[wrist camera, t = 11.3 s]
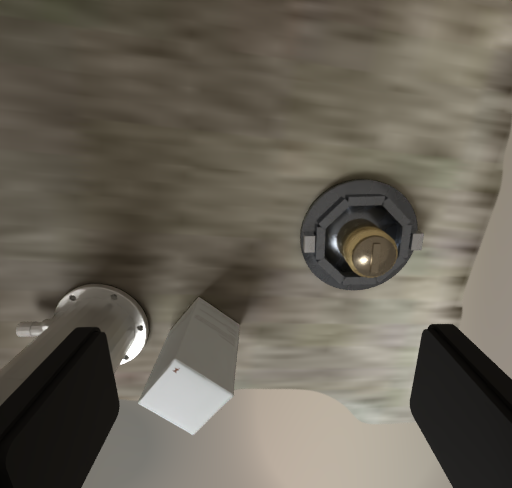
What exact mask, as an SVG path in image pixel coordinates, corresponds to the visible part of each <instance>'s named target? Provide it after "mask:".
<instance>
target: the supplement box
mask: <svg viewBox="0 0 512 488" xmlns="http://www.w3.org/2000/svg"><path fill="white" fill-rule="evenodd" d="M239 327H240V325H239V324H238V323H237V322H235V321H234V320H232V319H231V318H229V317H228V316H226V315H225V314H223V313H222V312H220V311H219V310H218V309H216V308H215V307H213V306H212V305H210V304H209V303H207V302H206V301H204V300H203V299H201V298H200V297H198V298H197V299H196V300H195V302H194V303H193V304H192V305H191V306H190V308H189V309H188V310H187V311H186V312H185V313H184V315H183V316H182V317H181V318H180V319H179V321H178V322H177V323H176V324H175V325H174V326H173V328H172V329H171V330H170V332H169V334H168V336H167V338H166V341H165V343H164V345H163V347H162V350H161V352H160V354H159V356H158V359H157V361H156V363H155V365H154V367H153V370H152V372H151V374H150V376H149V379H148V381H147V383H146V385H145V388H144V390H143V392H142V395H141V397H140V399H139V401H138V404H140V405H141V406H143V407H145V408H147V409H149V410H150V411H152V412H154V413H156V414H157V415H159V416H161V417H163V418H164V419H166V420H168V421H170V422H171V423H173V424H175V425H176V426H178V427H180V428H182V429H183V430H185V431H187V432H189V433H190V434H192V435H194V434H195V433H196V432H197V431H198V430H199V429H200V428H201V427H202V426H203V425H204V424H205V423H206V422H207V421H208V420H209V419H210V418H211V417H212V416H213V415H214V414H215V413H216V412H217V411H218V410H219V409H220V408H221V407H222V406H223V405H225V404H226V403H227V402H228V401H229V400H230V399H231V398H232V397H233V395H234V381H235V370H236V360H237V350H238V340H239Z"/></svg>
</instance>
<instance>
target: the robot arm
mask: <svg viewBox="0 0 512 488" xmlns="http://www.w3.org/2000/svg"><path fill="white" fill-rule="evenodd" d="M16 333H17V335H18V336H19V337H35V336H38V337H37V338H35V339H34V340H33V341H32V342H31V343H30V344H29V345H28V346H27V347H25V348H24V349H23V350H22V351H21V352H20V353H19V354H18V355H16V356H15V357H14V358H13V359H12V360H11V361H10V362H9V363H8V364H6V365H5V366H4V367H3V368H2V369H1V370H0V488H81V487H82V485H83V483H84V481H85V479H86V477H87V475H88V473H89V471H90V469H91V467H92V465H93V463H94V461H95V459H96V457H97V455H98V453H99V452H100V450H101V447H102V446H103V444H104V442H105V440H106V437H107V436H108V433H109V432H110V430H111V428H112V426H113V424H114V422H115V420H116V418H117V415H118V412H119V398H118V393H117V388H116V383H115V378H114V373H115V371H116V370H117V368H118V366H119V365H121V364H124V363H127V362H129V361H131V360H132V359H134V358H135V357H136V356H137V355H138V354H139V353H140V352H141V351H142V349H143V347H144V346H145V344H146V341H147V338H148V333H149V326H148V321H147V317H146V315H145V313H144V311H143V309H142V308H141V306H140V305H139V304H138V303H137V301H136V300H134V299H133V298H132V297H131V296H130V295H128V294H127V293H125V292H123V291H122V290H120V289H117V288H115V287H112V286H108V285H104V284H88V285H83V286H80V287H77V288H75V289H74V290H72V291H70V292H69V293H68V294H67V295H65V296H64V297H63V298H62V299H61V300H60V302H59V303H58V305H57V307H56V309H55V313H54V317H53V318H52V319H46V320H44V321H43V322H21V323H19V324H18V326H17V329H16ZM410 409H411V412H412V415H413V417H414V419H415V420H416V422H417V424H418V426H419V428H420V429H421V431H422V433H423V434H424V436H425V438H426V440H427V442H428V443H429V445H430V447H431V449H432V451H433V453H434V454H435V456H436V458H437V460H438V461H439V463H440V465H441V467H442V469H443V470H444V472H445V474H446V476H447V477H448V479H449V481H450V483H451V484H452V486H453V488H512V379H511V378H510V377H508V376H507V375H506V374H505V373H504V372H503V371H502V370H501V369H500V368H499V367H498V366H497V365H496V364H495V363H494V362H493V361H491V359H489V358H488V357H487V356H486V355H485V354H484V353H483V352H482V351H481V350H480V349H479V348H478V347H477V346H476V345H475V344H474V343H473V342H472V341H470V340H469V339H468V338H467V337H466V336H465V335H464V334H463V333H462V332H461V331H460V330H459V329H458V328H457V327H456V326H454V325H453V324H431V325H430V326H429V327H428V329H425V330H424V331H423V333H422V337H421V342H420V348H419V353H418V359H417V365H416V370H415V376H414V381H413V387H412V392H411V398H410Z"/></svg>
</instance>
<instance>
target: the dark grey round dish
mask: <svg viewBox="0 0 512 488" xmlns="http://www.w3.org/2000/svg"><path fill="white" fill-rule="evenodd" d="M354 219H366V220H369V221H371V222H372V223H374V224H375V225H376V226H377V227H379V228H380V229H381V230H383V231H384V232H385V233H386V234H388V235H389V236H390V237H391V238H392V239H393V240H394V241H395V243H396V245H397V249H398V255H397V259H396V262H395V264H394V265H393V267H392V268H391V269H390V270H389V271H388V272H386V273H385V274H383V275H381V276H378V277H374V278H367V277H362V276H360V275H358V274H356V273H355V272H354V271H353V270H352V269H351V267H350V266H349V264H348V263H347V262H346V260H345V259H344V257H343V256H342V254H341V253H340V251H339V250H338V248H337V244H336V238H337V234H338V232H339V230H340V229H341V227H342V226H343V225H344V224H346V223H347V222H349V221H351V220H354ZM423 236H424V233H422V232H420V231H419V230H418V228H417V220H416V215H415V213H414V210H413V208H412V206H411V204H410V203H409V201H408V200H407V199H406V197H405V196H404V195H403V194H401V193H400V192H399V191H398V190H396V189H395V188H393V187H391V186H389V185H387V184H385V183H382V182H379V181H375V180H369V179H356V180H350V181H345V182H343V183H340V184H337V185H335V186H333V187H331V188H330V189H328V190H327V191H325V192H324V193H323V194H321V195H320V196H319V197H318V198H317V199H316V200H315V201H314V202H313V204H312V205H311V206H310V208H309V209H308V211H307V213H306V215H305V217H304V220H303V223H302V227H301V232H300V245H301V250H302V253H303V256H304V259H305V261H306V263H307V265H308V267H309V268H310V270H311V271H312V272H313V273H314V274H315V275H316V276H317V277H318V278H319V279H320V280H322V281H323V282H325V283H327V284H328V285H331V286H333V287H336V288H339V289H345V290H363V289H368V288H371V287H375V286H377V285H380V284H382V283H384V282H386V281H387V280H389V279H390V278H392V277H393V276H394V275H396V274H397V273H398V272H399V271H400V270H401V269H402V268H403V267H404V265H405V264H406V263H407V261H408V260H409V258H410V256H411V254H412V252H413V250H422V243H423Z"/></svg>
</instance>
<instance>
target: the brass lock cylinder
mask: <svg viewBox="0 0 512 488" xmlns="http://www.w3.org/2000/svg"><path fill="white" fill-rule="evenodd" d="M336 244H337V248H338V250H339V251H340V253H341V254H342V256H343V257H344V259H345V260H346V262H347V263H348V264H349V266H350V267H351V269H352V270H353V271H354V272H355V273H356V274H358V275H360V276H362V277H367V278H374V277H378V276H381V275H383V274H385V273H386V272H388V271H389V270H390V269H391V268H392V267H393V265H394V264H395V262H396V259H397V255H398V249H397V245H396V243H395V241H394V240H393V239H392V238H391V237H390V236H389V235H388V234H386V233H385V232H384V231H383V230H381V229H380V228H379V227H377V226H376V225H375V224H374V223H372V222H371V221H369V220H366V219H354V220H351V221H349V222H347V223H346V224H344V225H343V226H342V227H341V229H340V230H339V232H338V234H337V238H336Z"/></svg>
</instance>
